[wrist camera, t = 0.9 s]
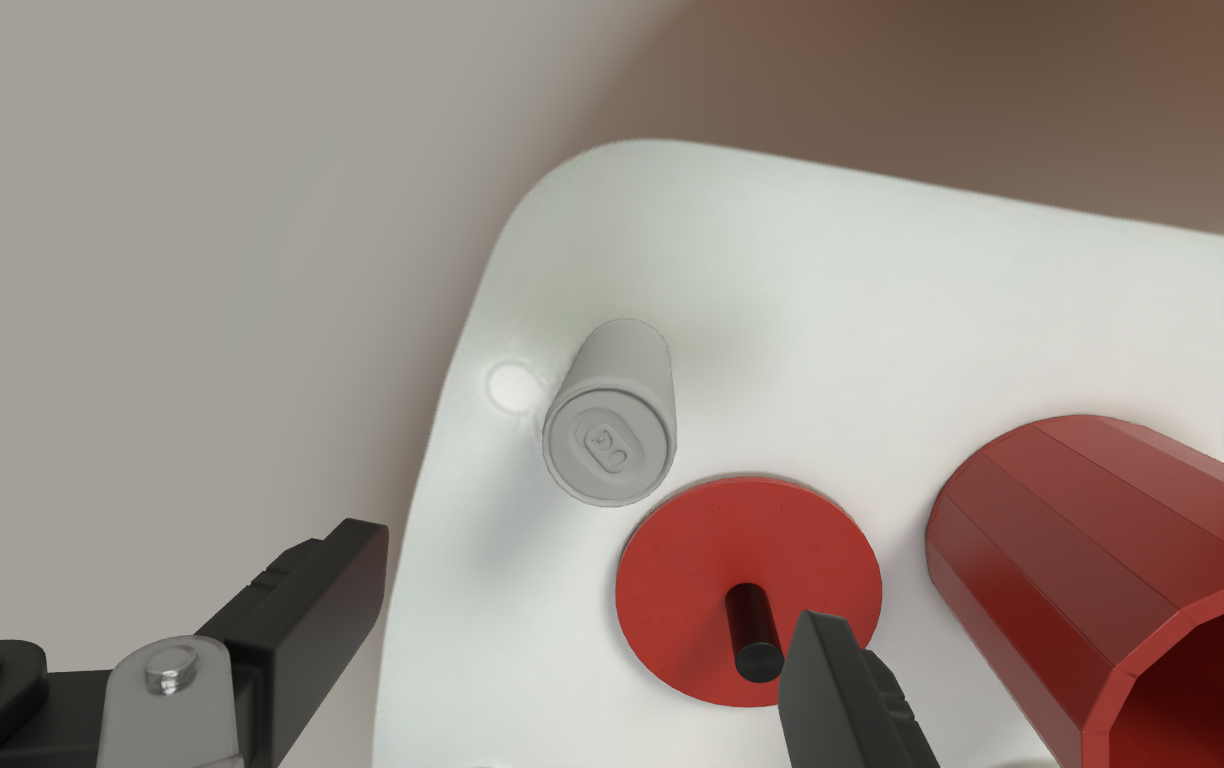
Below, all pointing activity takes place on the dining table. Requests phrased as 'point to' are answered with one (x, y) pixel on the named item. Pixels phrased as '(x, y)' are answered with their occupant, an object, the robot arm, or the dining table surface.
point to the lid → (740, 585)
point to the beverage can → (614, 417)
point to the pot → (1093, 587)
